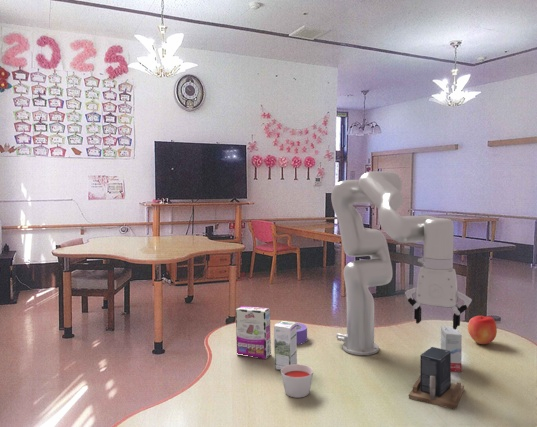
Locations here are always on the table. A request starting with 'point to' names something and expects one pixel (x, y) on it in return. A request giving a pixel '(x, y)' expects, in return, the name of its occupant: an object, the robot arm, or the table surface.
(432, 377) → the cradle
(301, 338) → the tape roll
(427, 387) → the box
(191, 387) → the table surface
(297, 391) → the candle
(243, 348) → the candy bar box
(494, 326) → the apple
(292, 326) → the syrup box
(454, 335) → the ink box
